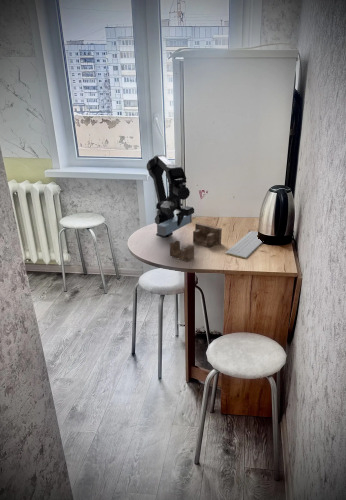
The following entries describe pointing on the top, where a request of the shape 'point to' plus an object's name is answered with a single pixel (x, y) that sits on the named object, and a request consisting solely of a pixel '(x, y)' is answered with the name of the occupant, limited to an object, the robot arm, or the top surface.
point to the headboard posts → (197, 241)
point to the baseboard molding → (245, 245)
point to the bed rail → (172, 225)
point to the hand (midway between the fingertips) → (175, 225)
